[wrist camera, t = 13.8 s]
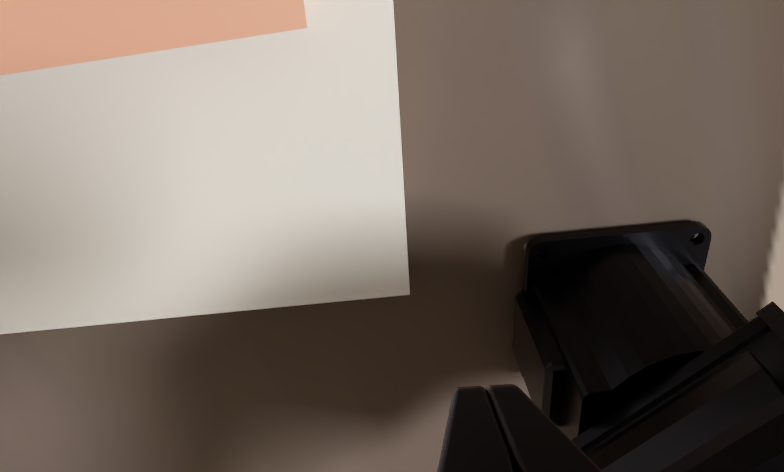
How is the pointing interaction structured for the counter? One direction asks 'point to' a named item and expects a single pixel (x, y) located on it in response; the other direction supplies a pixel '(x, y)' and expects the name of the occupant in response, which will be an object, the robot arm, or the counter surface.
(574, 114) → the counter surface
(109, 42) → the domino
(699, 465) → the robot arm
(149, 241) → the domino mat
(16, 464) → the counter surface
